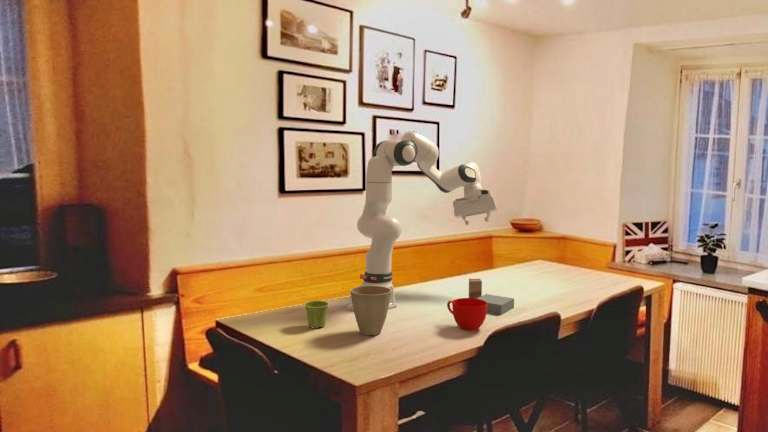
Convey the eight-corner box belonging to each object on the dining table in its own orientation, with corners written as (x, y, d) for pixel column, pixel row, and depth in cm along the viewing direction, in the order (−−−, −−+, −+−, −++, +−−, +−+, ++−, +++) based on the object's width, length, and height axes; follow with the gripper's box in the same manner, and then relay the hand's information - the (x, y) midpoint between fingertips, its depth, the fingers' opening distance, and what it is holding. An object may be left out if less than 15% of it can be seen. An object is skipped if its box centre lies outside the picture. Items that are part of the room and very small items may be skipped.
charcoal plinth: (501, 314, 231) (501, 305, 230) (472, 309, 238) (472, 300, 238) (513, 307, 241) (514, 298, 241) (485, 302, 249) (486, 294, 248)
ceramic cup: (457, 319, 225) (458, 294, 224) (493, 328, 213) (494, 302, 212) (436, 325, 216) (437, 300, 215) (472, 336, 204) (473, 309, 203)
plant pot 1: (318, 331, 208) (318, 308, 207) (299, 327, 213) (298, 304, 212) (334, 325, 216) (334, 303, 215) (314, 321, 221) (314, 299, 220)
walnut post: (481, 301, 252) (481, 281, 251) (470, 301, 252) (470, 281, 251) (479, 298, 257) (480, 278, 256) (468, 298, 257) (468, 278, 256)
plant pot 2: (396, 337, 202) (396, 293, 201) (355, 340, 198) (355, 296, 196) (384, 324, 217) (384, 284, 215) (346, 328, 212) (346, 286, 211)
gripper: (450, 197, 271) (453, 225, 266) (493, 189, 264) (497, 217, 260) (454, 201, 276) (457, 228, 272) (495, 194, 270) (499, 221, 265)
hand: (476, 223), depth 266 cm, fingers open, 8 cm apart
